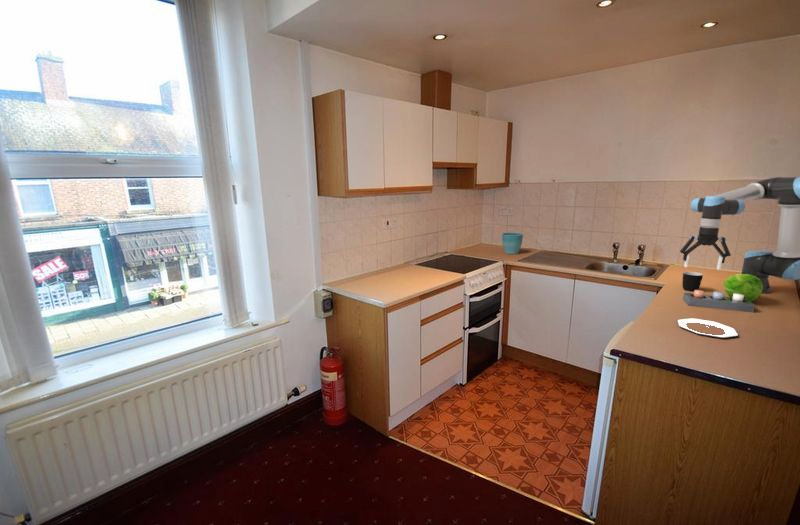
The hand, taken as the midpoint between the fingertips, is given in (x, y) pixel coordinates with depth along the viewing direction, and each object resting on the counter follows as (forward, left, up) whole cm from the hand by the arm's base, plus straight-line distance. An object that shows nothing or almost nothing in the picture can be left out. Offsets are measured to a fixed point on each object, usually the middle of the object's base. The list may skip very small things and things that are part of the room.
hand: (701, 268), depth 189 cm
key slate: (-9, +1, -16) cm, 18 cm away
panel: (-9, +1, -19) cm, 21 cm away
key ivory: (-17, +1, -16) cm, 23 cm away
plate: (+6, +40, -20) cm, 45 cm away
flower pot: (+106, -101, -19) cm, 148 cm away
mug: (-5, -28, -19) cm, 35 cm away
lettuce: (-24, -15, -19) cm, 34 cm away
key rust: (-1, +1, -16) cm, 16 cm away
